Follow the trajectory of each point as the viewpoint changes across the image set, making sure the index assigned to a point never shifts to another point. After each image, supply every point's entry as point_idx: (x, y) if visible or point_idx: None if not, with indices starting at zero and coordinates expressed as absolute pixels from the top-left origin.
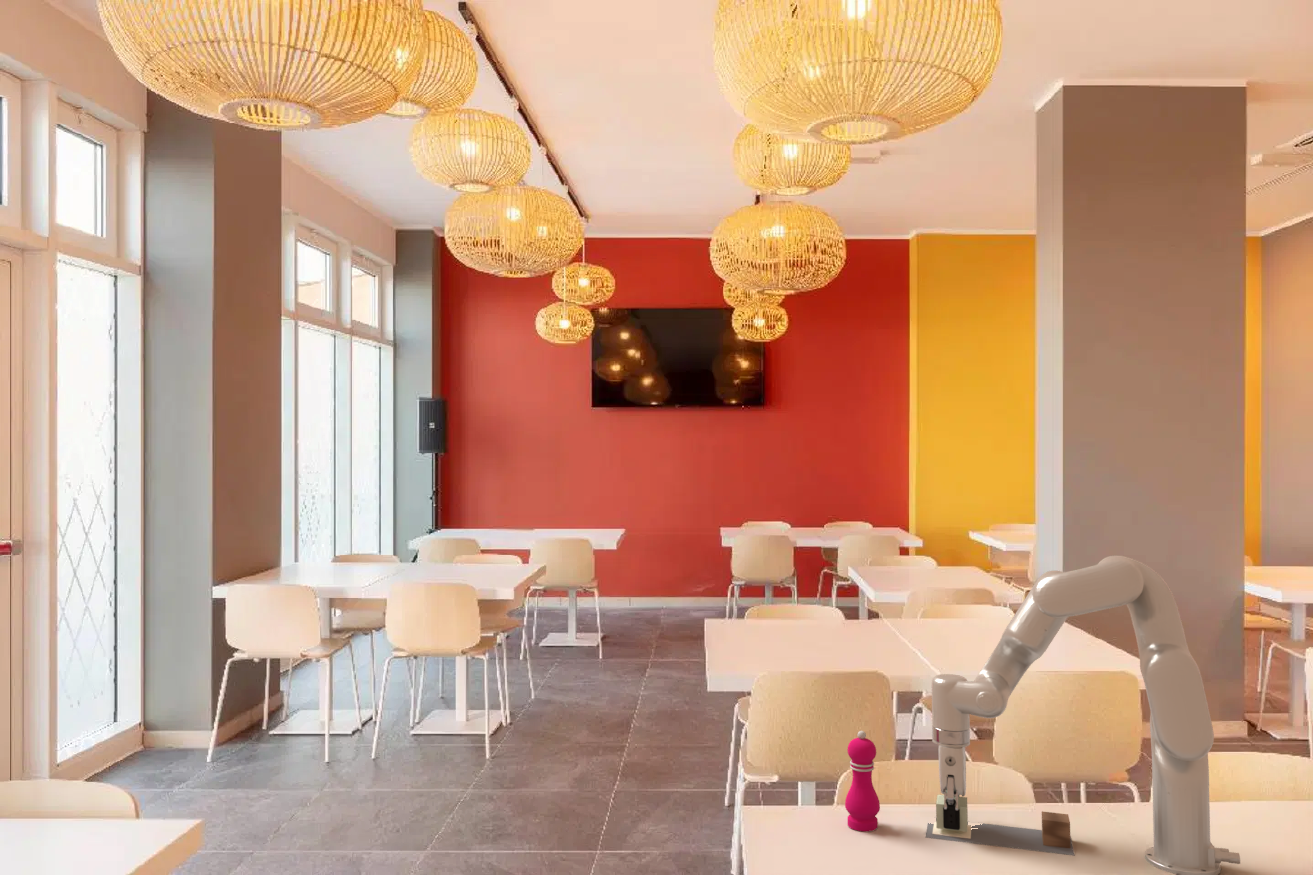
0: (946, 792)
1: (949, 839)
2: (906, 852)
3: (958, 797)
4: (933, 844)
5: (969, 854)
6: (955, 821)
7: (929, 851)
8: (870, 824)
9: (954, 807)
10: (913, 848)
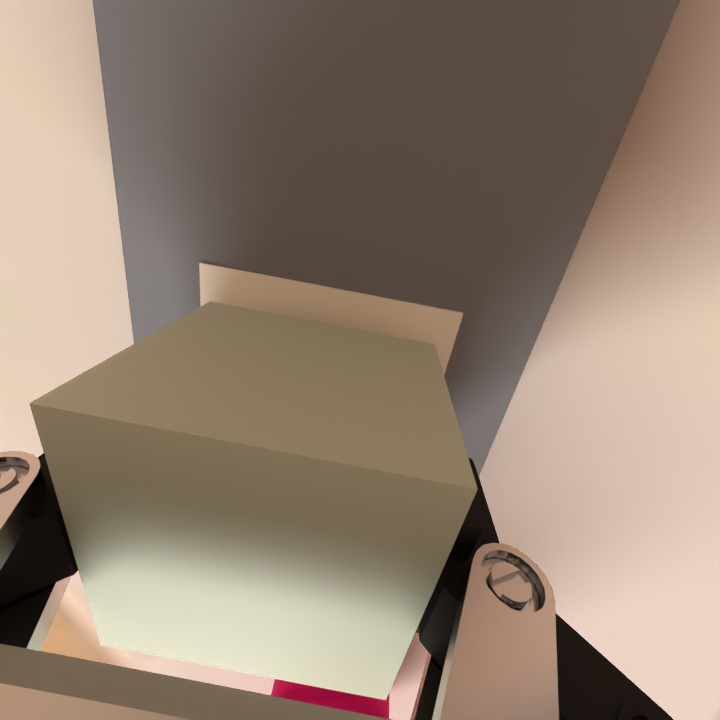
0: (49, 620)
1: (479, 437)
2: (614, 609)
3: (97, 503)
4: (521, 506)
5: (704, 357)
6: (477, 477)
7: (616, 535)
8: (382, 700)
9: (588, 647)
10: (569, 582)
